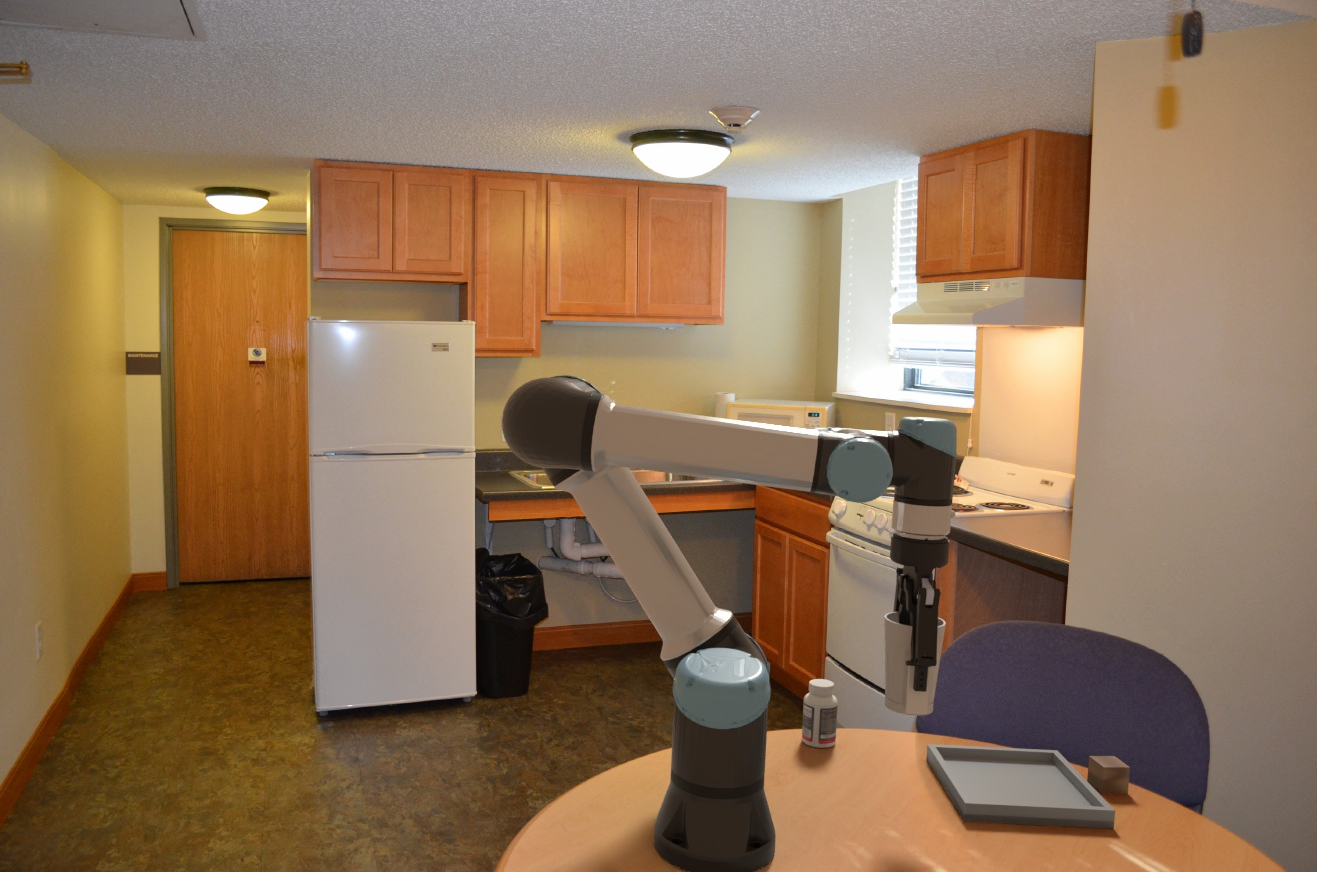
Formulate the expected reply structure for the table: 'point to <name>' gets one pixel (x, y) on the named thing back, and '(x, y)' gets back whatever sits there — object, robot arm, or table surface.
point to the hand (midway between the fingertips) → (908, 701)
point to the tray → (1017, 787)
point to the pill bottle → (820, 714)
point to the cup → (896, 666)
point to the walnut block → (1108, 774)
